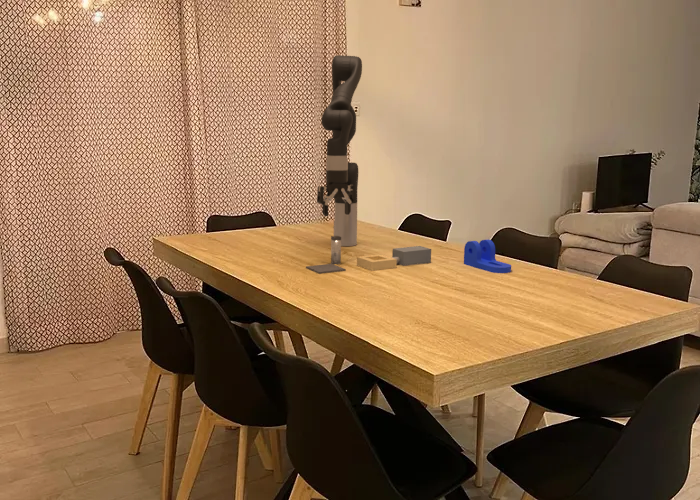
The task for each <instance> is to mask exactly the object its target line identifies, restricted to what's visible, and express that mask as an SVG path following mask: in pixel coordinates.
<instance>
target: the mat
mask: <svg viewBox="0 0 700 500" xmlns="http://www.w3.org/2000/svg"><path fill="white" fill-rule="evenodd" d="M305 269H307V270H310V271H312V272H314V273H316V274H319V275H321V274H329V273H330V274H331V273H337V272H338V273H339V272H346V270H347V269H346V268H344V267H342V266H339V265H335V264H331V263H326V264H316V265H307V266H305Z"/></svg>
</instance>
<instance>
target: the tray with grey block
mask: <svg viewBox="0 0 700 500" xmlns="http://www.w3.org/2000/svg"><path fill="white" fill-rule="evenodd" d="M391 256H392V257H390V256H387V255H385V254H371V255H363V256H361V255H360V256H356V266H358V267H359V268H364V269H366V270H369V271H382V270H390V269H396V268H397V265H400V266H402V267H404V266H414V265H423V264H431V263H432V248H429V247H425V246H421V245H416V246H414V245H413V246H405V247H396V248H392V255H391Z"/></svg>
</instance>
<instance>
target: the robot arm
mask: <svg viewBox="0 0 700 500" xmlns="http://www.w3.org/2000/svg"><path fill="white" fill-rule="evenodd" d="M331 61H332V62H331V82H332V83H331V84H332V97H331V101H330V103H329V104H328V105H327V107H326V108H325V110H324V111H323V113H322V116H321V121H320V122H321V126H322V128H323V129H325V130H326V131H330V132H332V135H331V136H332V137H330V138H328V139H327V141H326V161H325V183H326V184H325V186H322V185H318V186H317V194H316V195H317V196H316V197H317V198H316V203H318V204H319V205H321V206H322V207H321V208H322V209H321V213H322V215H323V217H329V204H330V202H331V201H332V200H333V199H334V220H333V236H340V237H341V247H352V246H356V245H358V244H357V243H358V185H359V184H358V183H359V166H358V163H357V162H350V161H348V145H349V144H350V143H351V141H352V140H353V138H354V136H355V135H356V131H357V114H356V111H355V109H354V106H352V100H353V96H354V94H355V92H356V90H357V88H358V85H359V83H360V80H361V77H362V73H363V62H362V59H361V58H360V57H359V56H357V55H356V56H355V55H342V54H341V55H338V54H337V55H334V56H333V58H332V60H331ZM325 192H326V193H325Z"/></svg>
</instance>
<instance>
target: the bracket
mask: <svg viewBox="0 0 700 500" xmlns="http://www.w3.org/2000/svg"><path fill="white" fill-rule="evenodd" d="M463 251H464V252H463V265H465V266H469V267H472V268H475V269H478V270H483V271H486V272H489V273H494V274H495V273H496V274H509V273H511V272H512V265H511V264H509V263H506V262H502V261H499V260H497V259H496V245H495V243H494V242H493V240H491V239H489V238H488V239H482V240H480V241H479V242H478V241H477V240H468V241H467V242H466V243H465V245H464V250H463Z"/></svg>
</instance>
